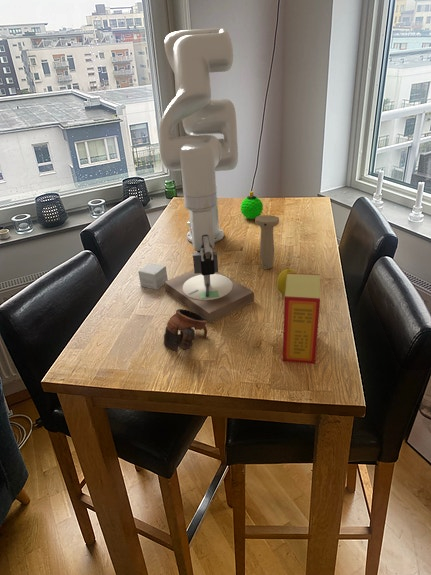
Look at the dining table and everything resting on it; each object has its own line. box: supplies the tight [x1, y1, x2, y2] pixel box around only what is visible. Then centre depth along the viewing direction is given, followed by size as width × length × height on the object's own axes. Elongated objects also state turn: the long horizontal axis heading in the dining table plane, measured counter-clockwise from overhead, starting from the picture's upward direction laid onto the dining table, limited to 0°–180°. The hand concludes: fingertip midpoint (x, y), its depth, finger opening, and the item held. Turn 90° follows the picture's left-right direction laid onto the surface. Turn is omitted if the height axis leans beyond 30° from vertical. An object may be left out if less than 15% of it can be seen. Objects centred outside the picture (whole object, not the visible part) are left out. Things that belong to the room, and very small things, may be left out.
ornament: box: [240, 190, 264, 220], centre depth 152 cm, size 8×8×10 cm
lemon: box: [276, 268, 297, 296], centre depth 106 cm, size 6×6×8 cm
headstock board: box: [164, 269, 255, 324], centre depth 110 cm, size 20×14×3 cm
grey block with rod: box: [192, 251, 219, 297], centre depth 104 cm, size 6×7×9 cm
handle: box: [254, 214, 280, 270], centre depth 118 cm, size 5×6×15 cm
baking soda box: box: [282, 272, 321, 364], centre depth 87 cm, size 10×6×16 cm
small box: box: [137, 262, 169, 291], centre depth 117 cm, size 6×6×5 cm
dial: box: [183, 274, 233, 300], centre depth 109 cm, size 13×13×1 cm
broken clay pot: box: [163, 308, 208, 353], centre depth 93 cm, size 12×10×8 cm
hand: (205, 264), depth 106 cm, fingers open, 9 cm apart
